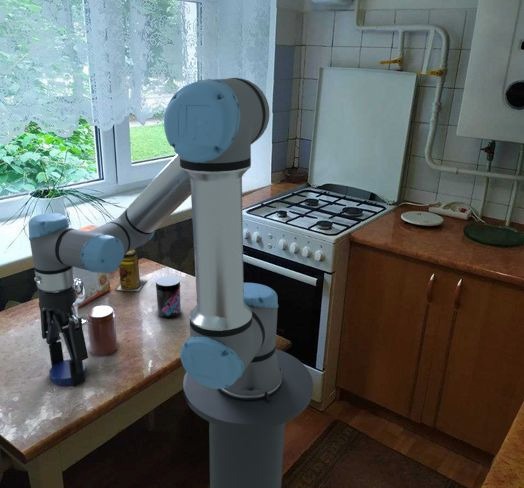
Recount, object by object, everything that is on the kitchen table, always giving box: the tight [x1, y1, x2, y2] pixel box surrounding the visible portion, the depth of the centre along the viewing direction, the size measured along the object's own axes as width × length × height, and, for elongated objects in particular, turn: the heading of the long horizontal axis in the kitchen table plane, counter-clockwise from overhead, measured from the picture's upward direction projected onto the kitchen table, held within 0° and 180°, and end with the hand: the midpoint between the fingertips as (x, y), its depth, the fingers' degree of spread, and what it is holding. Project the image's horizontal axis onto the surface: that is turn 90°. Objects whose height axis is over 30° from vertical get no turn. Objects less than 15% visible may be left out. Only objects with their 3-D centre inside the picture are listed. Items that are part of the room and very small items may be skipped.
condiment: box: [115, 249, 147, 292], centre depth 157 cm, size 7×8×12 cm
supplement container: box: [155, 275, 182, 319], centre depth 141 cm, size 7×7×10 cm
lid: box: [49, 358, 87, 387], centre depth 113 cm, size 8×8×2 cm
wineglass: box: [73, 278, 87, 325], centre depth 135 cm, size 6×6×12 cm
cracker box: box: [72, 224, 111, 308], centre depth 147 cm, size 14×6×21 cm, turn 154°
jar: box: [86, 305, 119, 357], centre depth 123 cm, size 7×7×11 cm
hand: (68, 375), depth 114 cm, fingers open, 8 cm apart
